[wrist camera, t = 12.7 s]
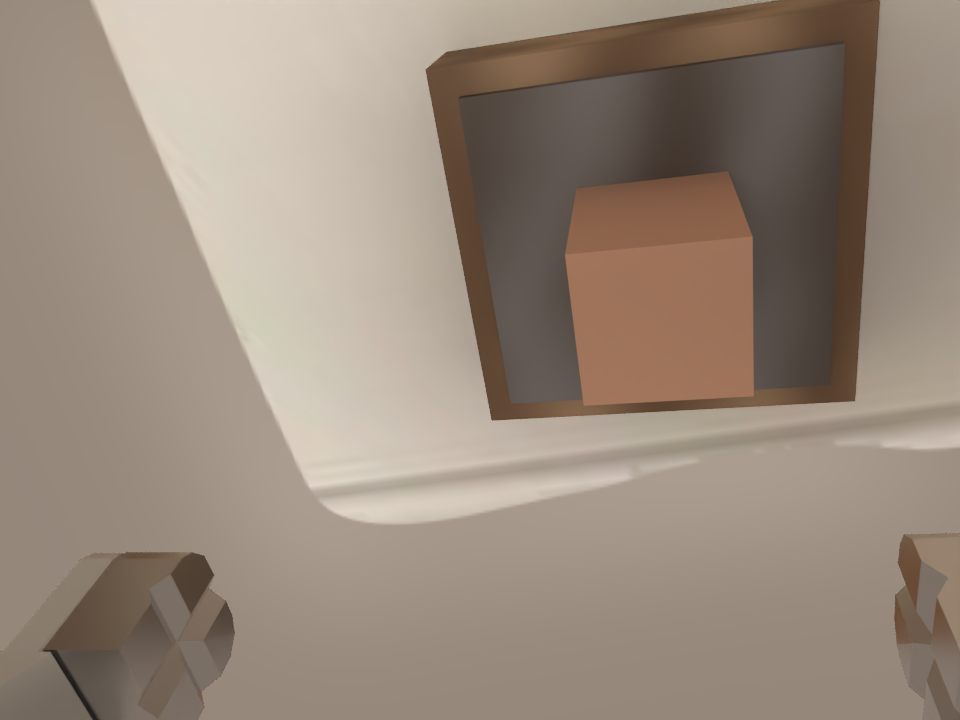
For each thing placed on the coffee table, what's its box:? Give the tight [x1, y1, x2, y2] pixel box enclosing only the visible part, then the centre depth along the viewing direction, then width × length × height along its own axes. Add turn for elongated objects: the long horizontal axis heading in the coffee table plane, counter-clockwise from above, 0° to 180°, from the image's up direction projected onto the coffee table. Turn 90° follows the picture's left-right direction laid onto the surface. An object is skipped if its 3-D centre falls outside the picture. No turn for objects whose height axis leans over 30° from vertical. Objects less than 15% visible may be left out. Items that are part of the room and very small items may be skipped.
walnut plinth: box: [426, 0, 880, 420], centre depth 30 cm, size 14×14×4 cm
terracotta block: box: [565, 171, 754, 406], centre depth 26 cm, size 5×5×6 cm
